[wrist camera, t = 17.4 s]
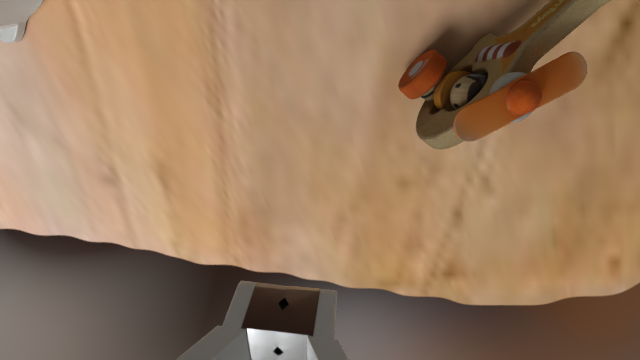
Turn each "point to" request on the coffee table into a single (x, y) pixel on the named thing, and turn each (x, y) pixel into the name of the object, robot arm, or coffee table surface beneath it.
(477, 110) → the toy helicopter
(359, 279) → the coffee table surface
